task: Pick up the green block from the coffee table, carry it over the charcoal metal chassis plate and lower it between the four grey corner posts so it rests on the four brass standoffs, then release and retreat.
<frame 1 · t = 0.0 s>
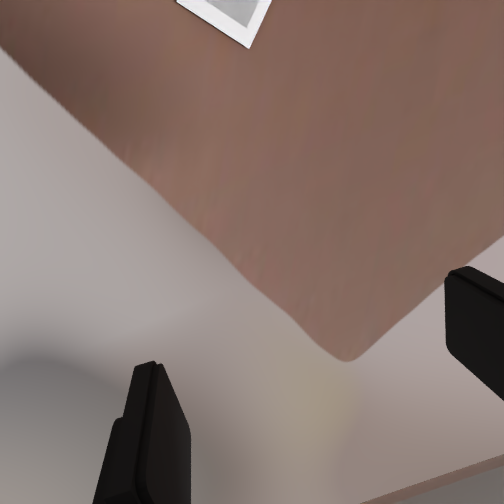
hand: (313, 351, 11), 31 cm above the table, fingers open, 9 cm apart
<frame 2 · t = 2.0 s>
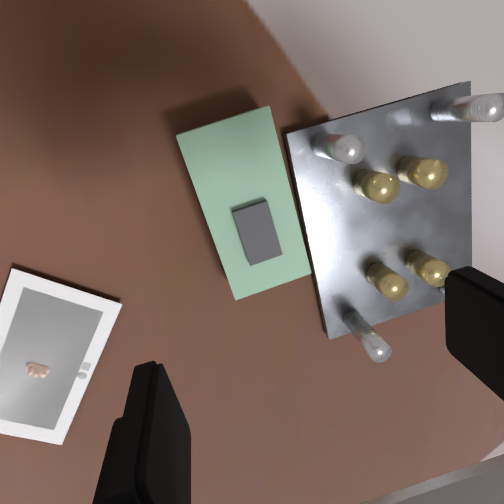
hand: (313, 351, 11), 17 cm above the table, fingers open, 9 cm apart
chassis: (385, 220, 29), on the table
touchpad: (45, 356, 28), on the table
green block: (242, 201, 26), on the table
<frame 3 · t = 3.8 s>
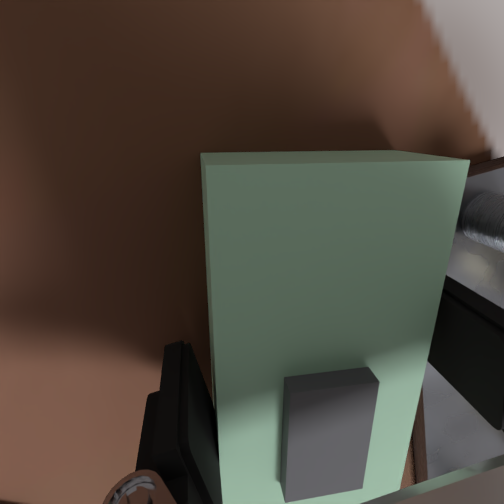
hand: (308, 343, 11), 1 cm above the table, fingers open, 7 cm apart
green block: (290, 319, 13), on the table
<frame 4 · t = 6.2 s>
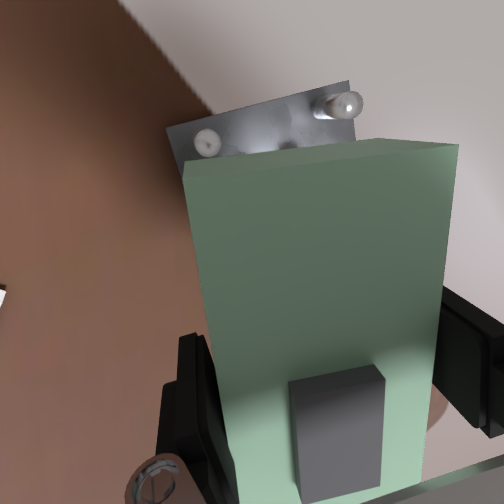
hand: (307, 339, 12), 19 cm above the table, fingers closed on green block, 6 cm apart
chassis: (280, 215, 29), on the table
green block: (295, 319, 13), point 17 cm above the table, touching gripper
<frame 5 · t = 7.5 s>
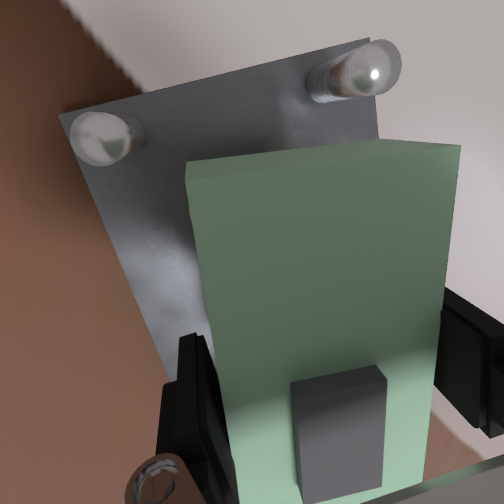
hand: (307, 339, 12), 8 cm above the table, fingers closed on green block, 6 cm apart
chassis: (260, 252, 19), on the table
green block: (296, 319, 13), point 7 cm above the table, touching gripper
when the fingers open (5 cm above the table, at t = 8.6 s): green block stays where it is, resting on chassis.
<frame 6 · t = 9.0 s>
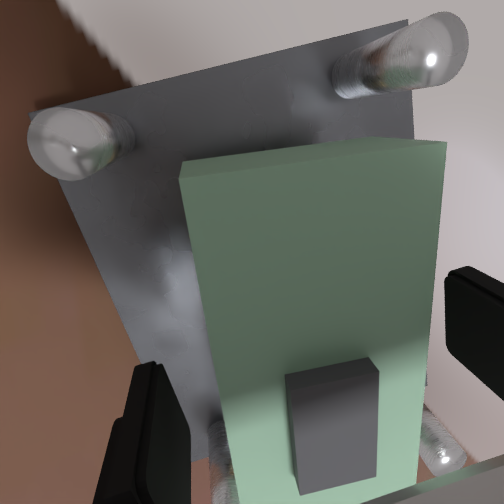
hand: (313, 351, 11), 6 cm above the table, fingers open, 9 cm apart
chassis: (271, 274, 17), on the table
green block: (293, 315, 13), point 4 cm above the table, touching chassis
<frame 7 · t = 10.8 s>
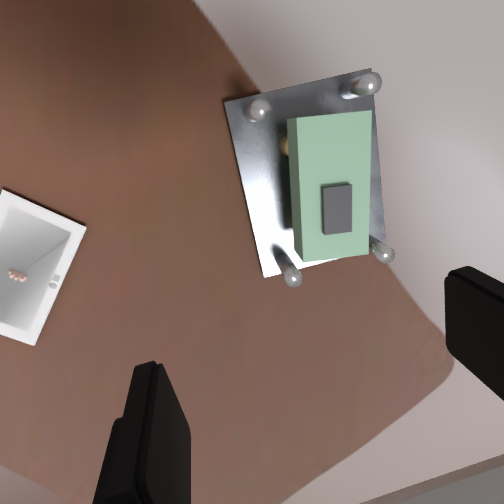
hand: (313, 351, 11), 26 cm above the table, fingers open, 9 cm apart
chassis: (310, 180, 36), on the table
touchpad: (25, 269, 36), on the table
green block: (322, 185, 32), point 4 cm above the table, touching chassis
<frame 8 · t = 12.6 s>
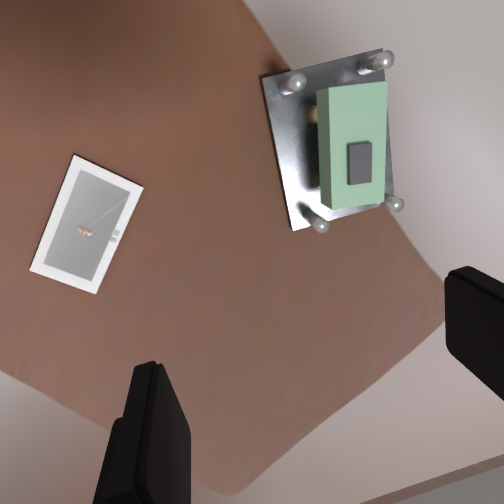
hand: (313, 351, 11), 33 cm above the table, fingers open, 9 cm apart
chassis: (331, 145, 42), on the table
touchpad: (88, 226, 42), on the table
green block: (344, 146, 39), point 4 cm above the table, touching chassis
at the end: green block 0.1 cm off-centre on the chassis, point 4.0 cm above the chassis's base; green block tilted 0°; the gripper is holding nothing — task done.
